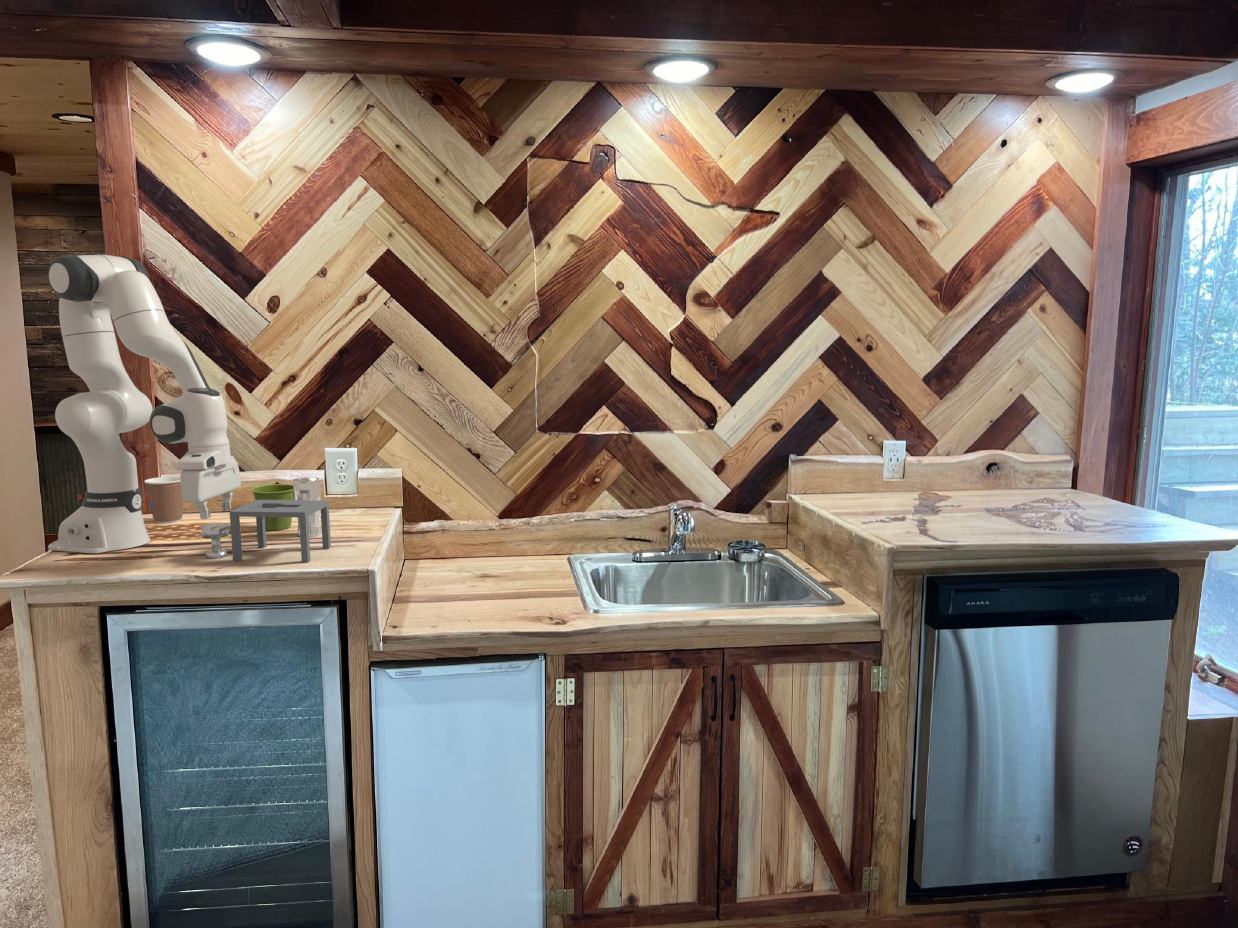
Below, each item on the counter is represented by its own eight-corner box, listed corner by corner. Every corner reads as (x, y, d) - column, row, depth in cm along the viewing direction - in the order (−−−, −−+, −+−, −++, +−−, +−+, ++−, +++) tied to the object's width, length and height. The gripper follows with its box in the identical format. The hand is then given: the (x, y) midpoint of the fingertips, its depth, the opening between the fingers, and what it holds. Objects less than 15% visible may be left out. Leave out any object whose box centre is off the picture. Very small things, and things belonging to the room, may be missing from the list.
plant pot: (245, 532, 228) (242, 491, 226) (268, 522, 240) (265, 483, 238) (286, 533, 227) (284, 492, 225) (307, 523, 238) (305, 484, 237)
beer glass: (327, 531, 229) (324, 477, 226) (316, 538, 222) (312, 481, 220) (302, 531, 230) (299, 476, 227) (290, 537, 223) (287, 481, 220)
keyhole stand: (233, 561, 199) (229, 511, 198) (260, 546, 213) (257, 499, 211) (308, 562, 199) (305, 512, 197) (331, 547, 212) (328, 500, 210)
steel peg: (198, 559, 201) (195, 528, 200) (211, 553, 207) (209, 522, 206) (222, 560, 201) (220, 528, 199) (235, 553, 206) (233, 523, 205)
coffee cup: (156, 517, 246) (153, 476, 245) (194, 516, 248) (190, 476, 246) (141, 525, 236) (137, 483, 234) (179, 524, 237) (176, 482, 236)
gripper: (220, 451, 210) (225, 505, 212) (172, 463, 190) (179, 523, 192) (244, 450, 210) (250, 505, 212) (200, 463, 190) (206, 523, 192)
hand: (216, 514), depth 202 cm, fingers open, 8 cm apart
